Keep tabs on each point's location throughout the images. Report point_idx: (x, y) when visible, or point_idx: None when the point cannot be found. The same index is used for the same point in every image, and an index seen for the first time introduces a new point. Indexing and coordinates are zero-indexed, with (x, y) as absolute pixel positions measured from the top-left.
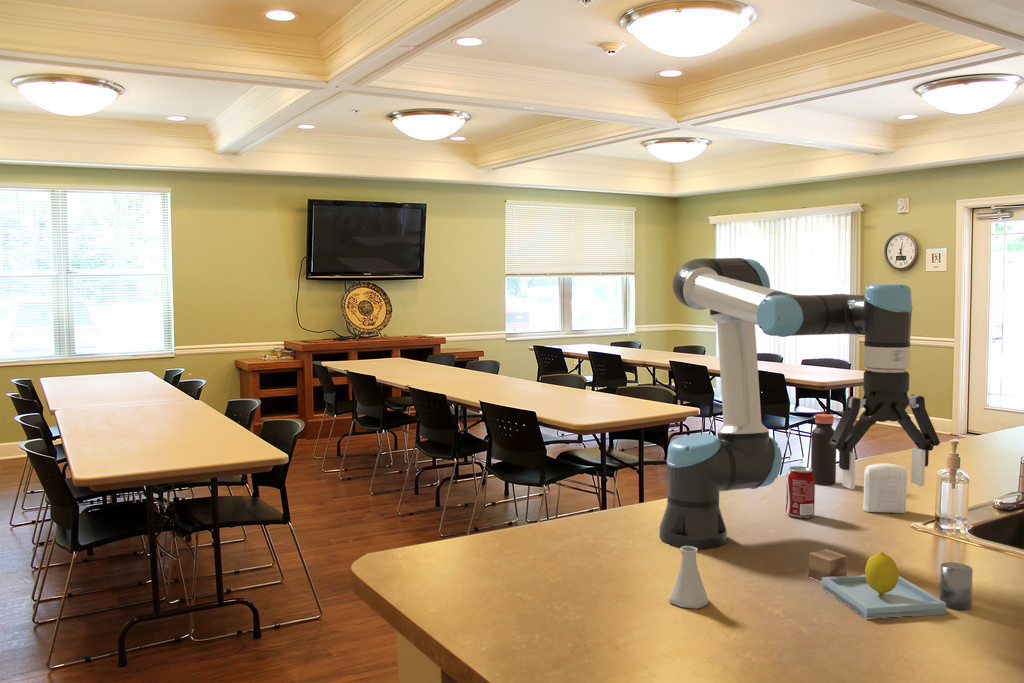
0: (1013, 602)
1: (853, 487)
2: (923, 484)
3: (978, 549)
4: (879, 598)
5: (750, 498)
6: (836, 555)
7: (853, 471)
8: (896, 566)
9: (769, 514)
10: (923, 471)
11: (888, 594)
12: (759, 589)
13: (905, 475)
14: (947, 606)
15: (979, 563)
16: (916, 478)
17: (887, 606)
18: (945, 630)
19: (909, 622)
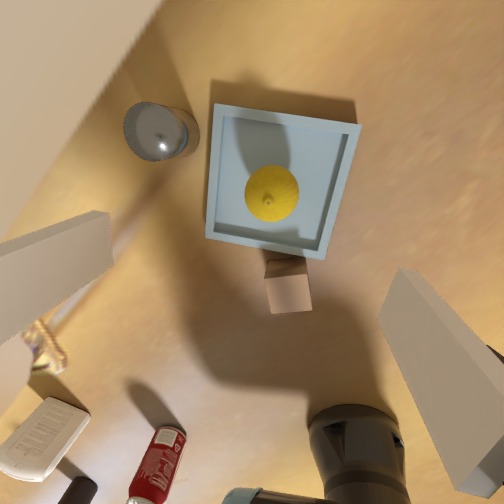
0: (89, 113)
1: (406, 271)
2: (93, 213)
3: None
4: None
5: (192, 485)
6: (277, 287)
7: (444, 315)
8: (253, 177)
9: (204, 448)
10: (49, 230)
11: None
12: None
13: (3, 445)
14: (198, 127)
15: None
16: (95, 246)
17: (321, 121)
18: (268, 43)
19: (299, 93)
